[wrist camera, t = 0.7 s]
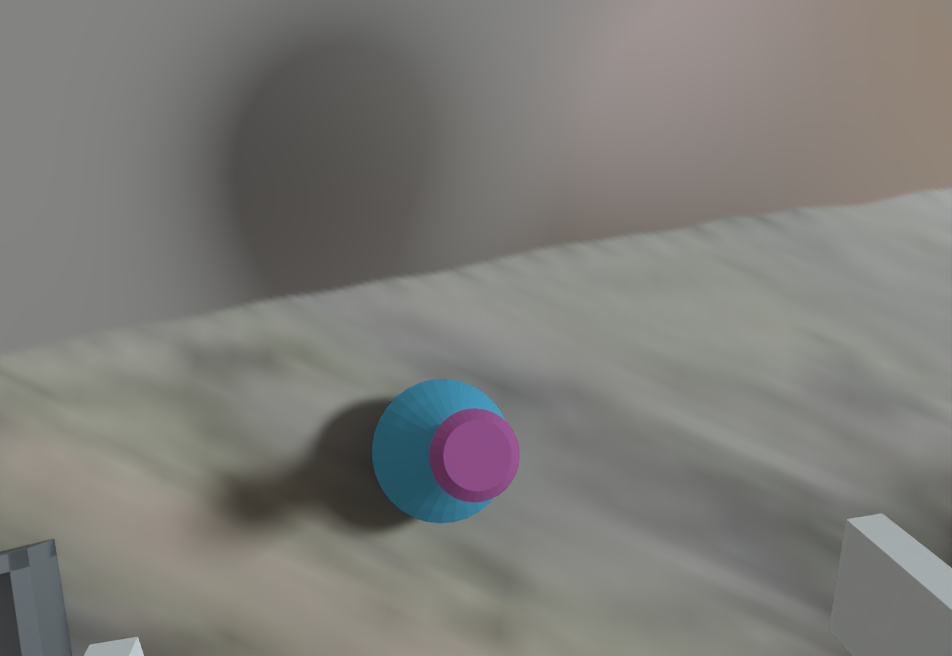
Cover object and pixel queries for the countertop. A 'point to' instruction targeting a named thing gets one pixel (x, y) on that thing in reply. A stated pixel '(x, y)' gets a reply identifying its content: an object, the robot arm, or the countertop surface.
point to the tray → (32, 603)
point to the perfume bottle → (443, 451)
